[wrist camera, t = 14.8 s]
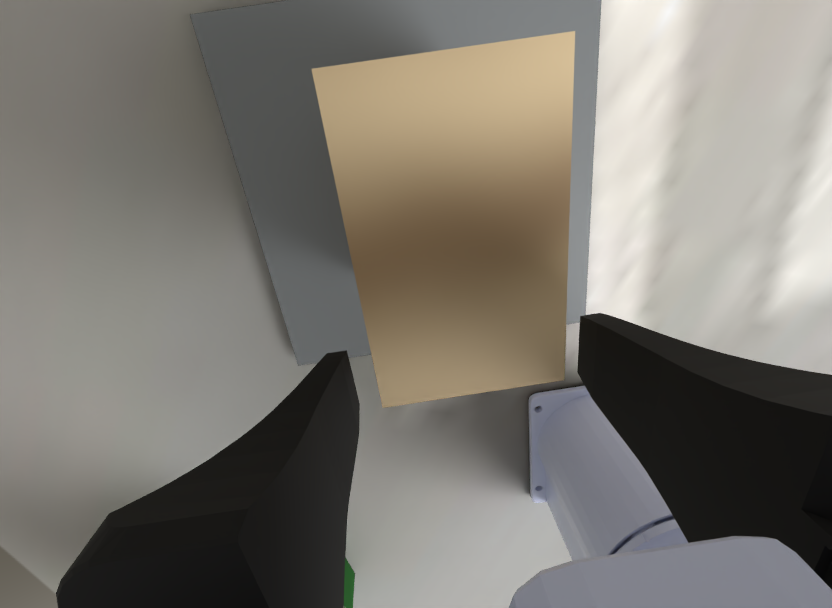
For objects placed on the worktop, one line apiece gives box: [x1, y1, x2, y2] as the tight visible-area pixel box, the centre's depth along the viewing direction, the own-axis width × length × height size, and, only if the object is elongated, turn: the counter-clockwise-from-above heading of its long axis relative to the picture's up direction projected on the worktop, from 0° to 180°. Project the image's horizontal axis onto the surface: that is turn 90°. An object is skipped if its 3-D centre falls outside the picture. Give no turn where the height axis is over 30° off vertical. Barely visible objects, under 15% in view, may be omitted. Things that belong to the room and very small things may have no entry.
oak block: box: [312, 31, 575, 408], centre depth 11 cm, size 8×5×5 cm, turn 7°
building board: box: [190, 0, 601, 366], centre depth 19 cm, size 16×16×1 cm
